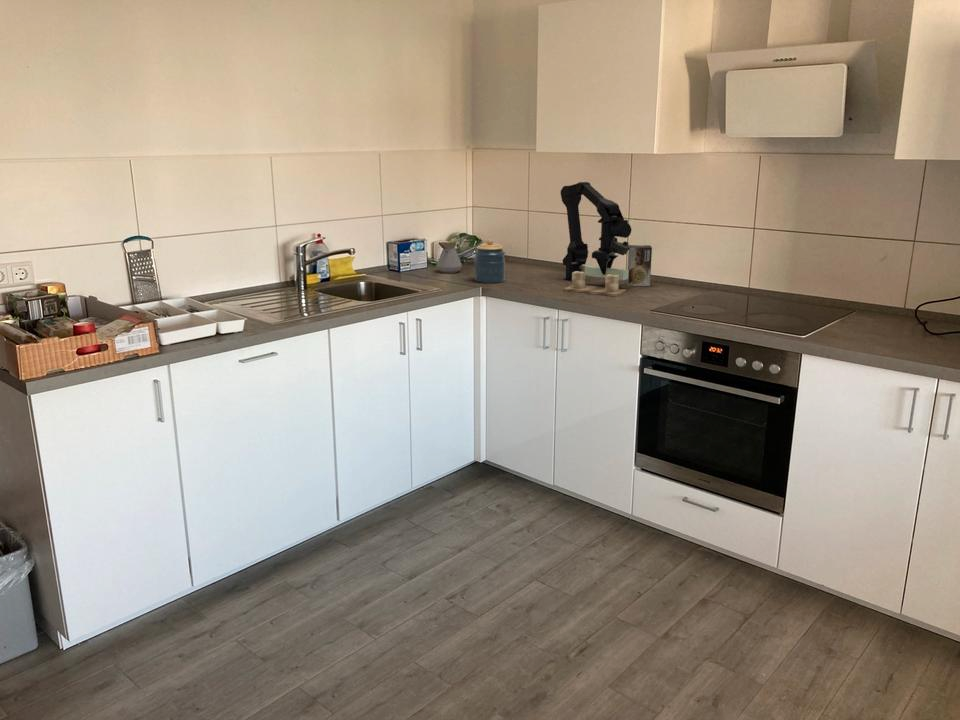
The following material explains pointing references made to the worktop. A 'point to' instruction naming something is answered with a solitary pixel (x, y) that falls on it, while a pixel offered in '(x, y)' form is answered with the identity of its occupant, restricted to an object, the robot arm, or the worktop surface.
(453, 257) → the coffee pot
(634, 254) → the coffee box
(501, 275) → the canister
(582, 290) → the birch gate
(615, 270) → the sage plank
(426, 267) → the worktop surface
